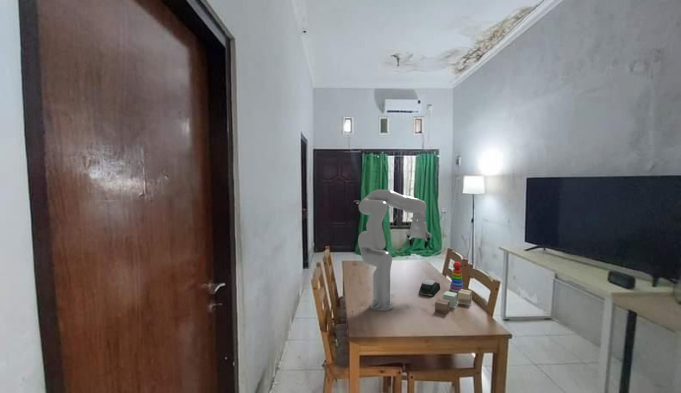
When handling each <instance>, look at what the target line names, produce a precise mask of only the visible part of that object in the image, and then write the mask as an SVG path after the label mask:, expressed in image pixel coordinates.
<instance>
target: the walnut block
mask: <svg viewBox="0 0 681 393" xmlns="http://www.w3.org/2000/svg"><path fill="white" fill-rule="evenodd" d="M450 309H451V307H450V301H449V300H444V299H443V298H440V297H439V298H437V299H436V300H434V312H436V313H440V314H443V315H447V314H448V313H450V311H451V310H450Z"/></svg>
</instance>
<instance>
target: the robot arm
mask: <svg viewBox="0 0 681 393" xmlns="http://www.w3.org/2000/svg"><path fill="white" fill-rule="evenodd" d="M388 206H389V207H391V208H395V209H397V210H403V211H404V212H405V213H408V214H412V217H410V220H411V222H410V229H409V230H408V231H406V232H405V235H406V237H407V239H408V240H409V246H410V247H412V246H413V245H414V244H413V243H414V242H413V241H414V239H424V248H426V249H427V248H428V246H429V241H430V240H431V239H432V238H433V234H432V233H430V232H429V231H428V226H427V222H426V210H427V205H426V202H425V201H424V200H421V199H419V198H415V197H412V196H409V195H404V194H401V193H398V192H396V191H393V190H391V189H375V190H373V191H371V192H370V193H368V194H367V195H366V196H365V197H364V198H363V199H362V200H360V201H359V204H358V211H359V212H360V213H361V214H363V215H365V216H370V217H369V218H368V220H367V221H366V230H363V231H361V232H360V233H359V235H358V239H357V243H358V244H357V245H358V248H359V252H360V256H361V259H362V261H363V263H364V264H366V265H368V266H369V265H370V266H373V267H376V268H375V270H374V271H373V274H372V301H371V302H370V303H369V308H370V309H372V310H374V311H378V312H388V311H391V310H392V309H393V307H394V304H393V303H392V302H391V269H392V262H393V255H392V254H391V253H390V252H389V251H387V250H385V248H386V245H387V244H386V243H387V242H386V239H385V233H384V228H383V222H384V219H385V216H386V214H387V212H388V210H389V208H388Z"/></svg>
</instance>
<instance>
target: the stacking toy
mask: <svg viewBox="0 0 681 393" xmlns="http://www.w3.org/2000/svg"><path fill="white" fill-rule="evenodd" d="M452 267H453V269H452V272H451V275H452V276H451V282H450V285H449V290H450V292H453V293H458V292H459V291H460V290H461V289H463V288H464V287H463V285H464V283H463V276H462V269H461V268H462V263H461V262H460V261H454V262H453V264H452ZM463 290H464V289H463Z"/></svg>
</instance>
